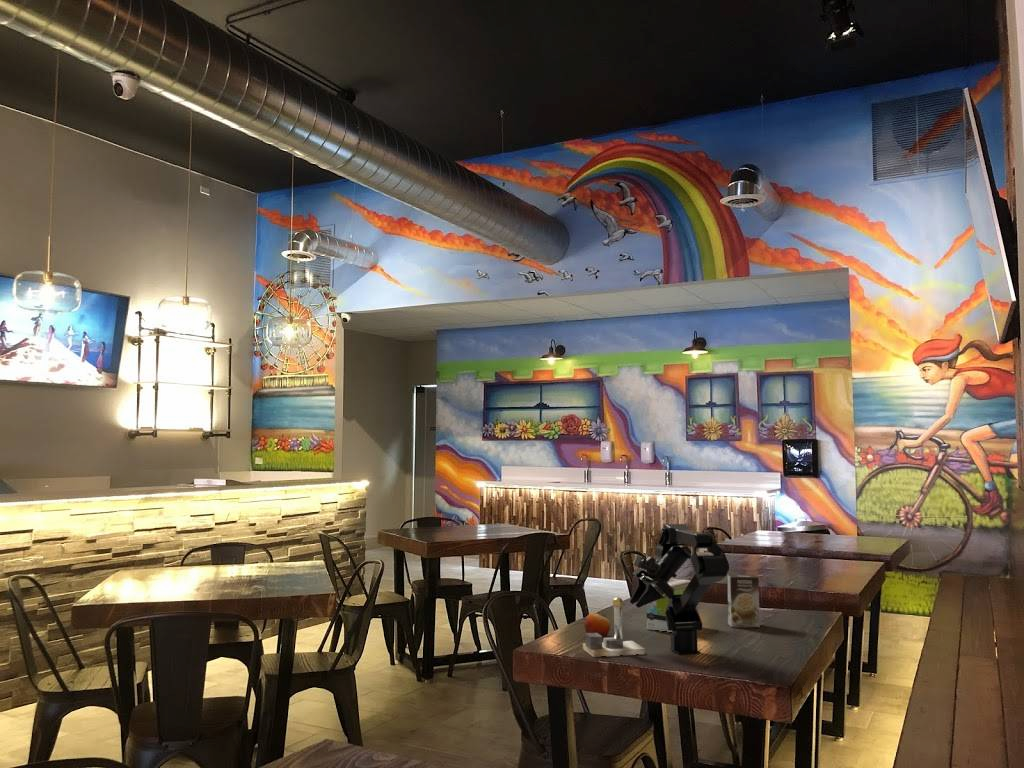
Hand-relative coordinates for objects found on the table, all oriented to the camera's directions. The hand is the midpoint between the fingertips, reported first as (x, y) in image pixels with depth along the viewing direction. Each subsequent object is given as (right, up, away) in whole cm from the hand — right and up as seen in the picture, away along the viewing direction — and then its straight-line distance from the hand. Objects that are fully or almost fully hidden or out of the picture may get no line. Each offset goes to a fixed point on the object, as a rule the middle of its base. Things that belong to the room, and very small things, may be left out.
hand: (633, 604), depth 235 cm
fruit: (-9, -14, +16) cm, 23 cm away
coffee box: (+40, -15, +30) cm, 53 cm away
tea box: (+16, -15, +28) cm, 36 cm away
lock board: (-6, -12, -3) cm, 14 cm away
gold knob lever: (-6, -11, -3) cm, 13 cm away
